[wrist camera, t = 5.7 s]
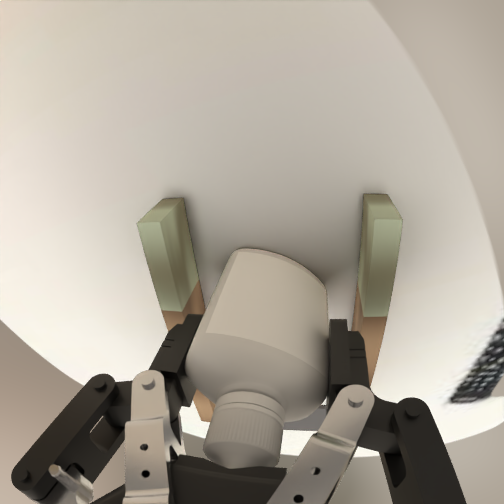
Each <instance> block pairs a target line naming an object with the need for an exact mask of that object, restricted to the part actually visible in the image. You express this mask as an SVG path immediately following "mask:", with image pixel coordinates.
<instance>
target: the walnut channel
mask: <svg viewBox="0 0 504 504" xmlns="http://www.w3.org/2000/svg"><path fill="white" fill-rule="evenodd" d="M402 223H403V219H402V217H401V216H400V214H399V212H398V211H397V209H396V207H395V206H394V204H393V203H392V201H391V199H390V198H389V196H388V195H387V194H364V197H363V218H362V234H361V248H360V260H359V271H358V281H357V290H356V299H355V308H354V316H353V323H352V330H351V331H359V333H360V334H361V336H362V337H363V338H364V341H365V351H366V358H367V366H368V374H369V384H370V386H371V382H372V379H373V375H374V371H375V367H376V364H377V360H378V356H379V352H380V348H381V343H382V339H383V335H384V330H385V326H386V321H387V316H388V312H389V307H390V301H391V296H392V291H393V285H394V279H395V273H396V267H397V261H398V254H399V247H400V239H401V231H402ZM137 226H138V230H139V234H140V238H141V241H142V245H143V249H144V253H145V256H146V260H147V264H148V267H149V271H150V274H151V278H152V281H153V285H154V288H155V291H156V295H157V298H158V301H159V304H160V308H161V311H162V314H163V317H164V320H165V323H166V326H167V329H168V332H169V330H171V329H172V328H173V327H174V326H175V325H176V324H183V322H184V320H185V318H186V316H187V315H188V314H203V315H204V313H205V311H206V310H205V305H204V301H203V296H202V291H201V287H200V282H199V277H198V272H197V268H196V263H195V258H194V253H193V248H192V242H191V237H190V232H189V227H188V221H187V216H186V210H185V205H184V199H183V198H173V199H162V200H161V201H160V202H159V203H158V204H157V205H156V206H155V207H153V208H152V209H151V210H150V211H149V212H148V213H147V214H146V215H145V216H144V217H143V218H142V219H141V220H139V221H138V222H137ZM193 401H194V404H195V406H196V408H197V411H198V413H199V416H200V418H201V421H206V422H211V419H212V415H213V412H214V409H215V404H214V403H213V402H212V401H210V400H209V399H208V398H207V397H205V396H204V395H203V394H202V393H201V392H200V391H199V390H198V389H196V392H195V395H194V397H193Z"/></svg>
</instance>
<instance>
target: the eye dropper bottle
mask: <svg viewBox="0 0 504 504" xmlns="http://www.w3.org/2000/svg"><path fill="white" fill-rule="evenodd" d="M328 334H329V321H328V303H327V292H326V289H325V286H324V285H323V284H322V282H321V281H320V280H319V279H318V278H317V277H316V276H315V275H314V274H313V273H312V272H310V271H309V270H308V269H306V268H305V267H304V266H302V265H300V264H299V263H297V262H295V261H294V260H292V259H290V258H287V257H285V256H282V255H280V254H276V253H273V252H269V251H264V250H258V249H249V248H243V249H239V250H236V251H234V252H233V253H232V255H231V256H230V258H229V260H228V262H227V264H226V266H225V268H224V271H223V273H222V275H221V277H220V279H219V282H218V284H217V286H216V288H215V291H214V293H213V295H212V297H211V300H210V302H209V304H208V306H207V309H206V311H205V313H204V315H203V318H202V320H201V322H200V325H199V327H198V329H197V332H196V334H195V336H194V339H193V341H192V344H191V346H190V349H189V351H188V354H187V357H186V360H185V373H186V375H187V377H188V378H189V380H190V381H191V383H192V384H193V385H194V386H195V387H196V388H197V389H198V390H199V391H200V392H201V393H202V394H203V395H204V396H205V397H207V398H208V399H209V400H210V401H212V402H213V403H214V404H215V409H214V412H213V415H212V419H211V422H210V425H209V429H208V432H207V435H206V438H205V442H204V445H203V451H204V453H205V455H206V456H207V457H208V458H209V459H210V460H211V461H212V462H214V463H216V464H218V465H221V466H223V467H226V468H229V469H234V468H245V467H255V466H264V467H275V466H276V465H277V464H278V462H279V458H280V451H281V443H282V435H283V427H284V422H292V421H298V420H301V419H303V418H306V417H308V416H309V415H310V414H312V413H313V412H314V411H315V410H316V409H317V408H318V407H319V406H320V405H321V404H322V403H323V402H324V400H325V399H326V396H327V394H328Z"/></svg>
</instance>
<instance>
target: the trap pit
mask: <svg viewBox="0 0 504 504" xmlns="http://www.w3.org/2000/svg"><path fill="white" fill-rule="evenodd" d="M325 418H326V406H319V407H318V408H317V409H316V410H315V411H314V412H313V413H312V414H310V415H309V416H308V417H306V418H303V419H301V420H298V421H292V422H284V427H283V430H303V431H318V430H319V428H320V426H321V425H322V423H323V421H324V419H325Z"/></svg>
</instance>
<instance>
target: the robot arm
mask: <svg viewBox="0 0 504 504" xmlns="http://www.w3.org/2000/svg"><path fill="white" fill-rule="evenodd" d="M202 318H203V314H188V315H187V316H186V318H185V320H184V322H183V324H176V325H175V326H174V327H173V328H172V329H171V330H169V332H168V334H167V336H166V338H165V340H164V341H163V343H162V345H161V347H160V349H159V351H158V353H157V355H156V357H155V358H154V360H153V362H152V364H151V366H150V368H149V370H146V371H143V372H141V373H139V374H138V375H137V376H136V377H135V378H134V379H133V381H124V382H115V380H114V378H113V377H112V376H110V375H108V374H99V375H96V376H94V377H92V378H91V379H90V380H89V381H88V382H87V383H86V385H85V386H84V387H83V388H82V389H81V390H80V391H79V392H78V394H77V395H76V396H75V397H74V398H73V399H72V400H71V402H70V403H69V404H68V405H67V406H66V407H65V408H64V409H63V411H62V412H61V413H60V414H59V415H58V417H57V418H56V419H55V420H54V421H53V422H52V423H51V424H50V426H49V427H48V428H47V429H46V430H45V432H44V433H43V434H42V435H41V436H40V438H39V439H38V440H37V441H36V442H35V443H34V444H33V446H32V447H31V448H30V449H29V451H28V452H27V453H26V454H25V455H24V456H23V457H22V459H21V460H20V461H19V462H18V463H17V465H16V466H15V467H14V469H13V471H12V474H11V479H12V483H13V485H14V486H15V487H16V488H17V489H18V490H20V491H21V492H22V493H24V494H25V495H26V496H27V497H28V498H30V499H31V500H33V501H34V502H36V503H37V504H89V502H91V501H92V500H93V497H94V496H93V486H92V484H93V482H94V481H95V480H96V478H97V477H98V476H99V474H100V473H101V471H102V470H103V469H104V467H105V466H106V465H107V463H108V462H109V461H110V459H111V458H112V456H113V455H114V454H115V452H116V451H117V449H118V448H119V447H120V445H121V444H122V443H123V441H124V440H125V484H123V485H122V486H120V487H118V488H117V489H115V490H113V491H111V492H110V493H108V494H106V495H104V496H103V497H101V498H99V499H97V500H95V501H94V502H92V503H90V504H329V502H330V500H331V499H332V497H333V495H334V493H335V492H336V490H337V488H338V486H339V484H340V482H341V480H342V478H343V476H344V474H345V472H346V470H347V468H348V466H349V464H350V462H351V460H352V458H353V456H354V454H355V452H356V450H357V448H358V446H359V447H362V448H366V449H370V450H374V451H378V452H379V454H380V457H381V461H382V464H383V468H384V472H385V475H386V479H387V483H388V486H389V490H390V494H391V498H392V502H393V504H466V501H465V498H464V495H463V492H462V489H461V487H460V484H459V481H458V479H457V476H456V473H455V470H454V468H453V465H452V463H451V460H450V457H449V455H448V452H447V450H446V447H445V445H444V442H443V440H442V437H441V435H440V433H439V430H438V428H437V426H436V423H435V421H434V419H433V416H432V414H431V412H430V409H429V407H428V406H427V404H426V403H425V402H424V401H422V400H420V399H418V398H405V399H403V400H401V401H400V402H398V404H397V403H393V402H388V401H385V400H382V399H380V398H378V397H377V396H376V395H374V393H373V392H372V391H371V388H370V384H369V374H368V366H367V358H366V351H365V341H364V338H363V337H362V336H361V334H360V333H359V331H348V327H347V319H330V322H329V334H328V394H327V401H326V418H325V419H324V421H323V423H322V425H321V426H320V428H319V430H318V431H317V433H316V434H315V433H314V434H313V435H312V436H311V437H310V439H309V440H308V442H307V444H306V445H305V447H304V449H303V450H302V452H301V453H300V455H299V457H298V458H297V460H296V461H295V463H294V464H293V466H292V467H291V469H290V470H289V472H288V474H287V472H286V471H287V468H276V467H264V466H255V467H245V468H234V469H229V468H226V467H223V466H221V465H218V464H216V463H213V462H211V461H209V460H206V459H204V458H198V457H193V456H187V455H186V454H185V450H184V442H183V435H182V426H181V417H180V414H179V411H180V409H181V406H185V407H190V406H191V403H192V400H193V397H194V395H195V392H196V389H197V388H196V387H195V386H194V385H193V384H192V383H191V381H190V380H189V378H188V377H187V375H186V373H185V360H186V357H187V354H188V351H189V349H190V346H191V344H192V341H193V339H194V336H195V334H196V332H197V329H198V327H199V325H200V322H201V320H202ZM102 416H104V417H103V418H102V419H101V421H100V422H99V423H98V424H97V425H96V427H95V428H94V429H93V430H92V428H93V427H94V426H95V424H96V423H97V422H98V421H99V419H100V418H101V417H102ZM91 430H92V432H91V433H90V431H91Z"/></svg>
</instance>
